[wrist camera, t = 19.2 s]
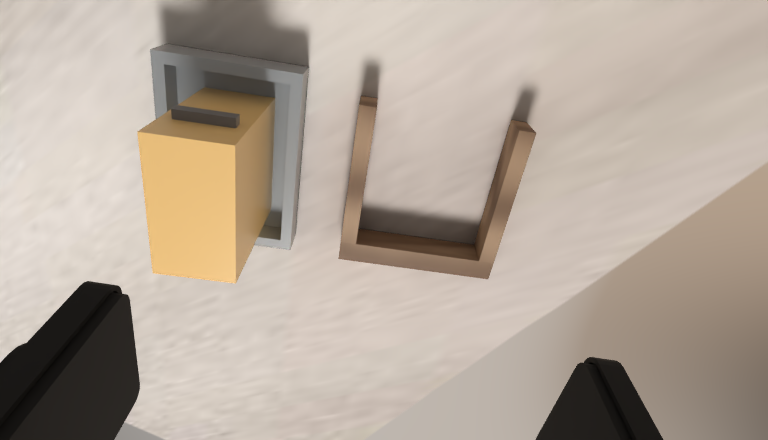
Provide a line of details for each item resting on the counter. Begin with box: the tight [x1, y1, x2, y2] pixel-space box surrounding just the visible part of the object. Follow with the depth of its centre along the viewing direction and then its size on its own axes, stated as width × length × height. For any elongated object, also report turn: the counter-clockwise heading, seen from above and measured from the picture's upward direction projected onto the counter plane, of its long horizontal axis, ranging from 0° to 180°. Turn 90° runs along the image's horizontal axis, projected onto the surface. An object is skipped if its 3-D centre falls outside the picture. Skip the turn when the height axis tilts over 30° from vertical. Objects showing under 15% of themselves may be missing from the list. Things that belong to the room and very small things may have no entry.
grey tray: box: [150, 44, 309, 250], centre depth 34 cm, size 14×10×2 cm
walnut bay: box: [339, 96, 536, 279], centre depth 36 cm, size 13×12×2 cm
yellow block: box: [138, 87, 275, 283], centre depth 31 cm, size 10×5×10 cm, turn 171°
